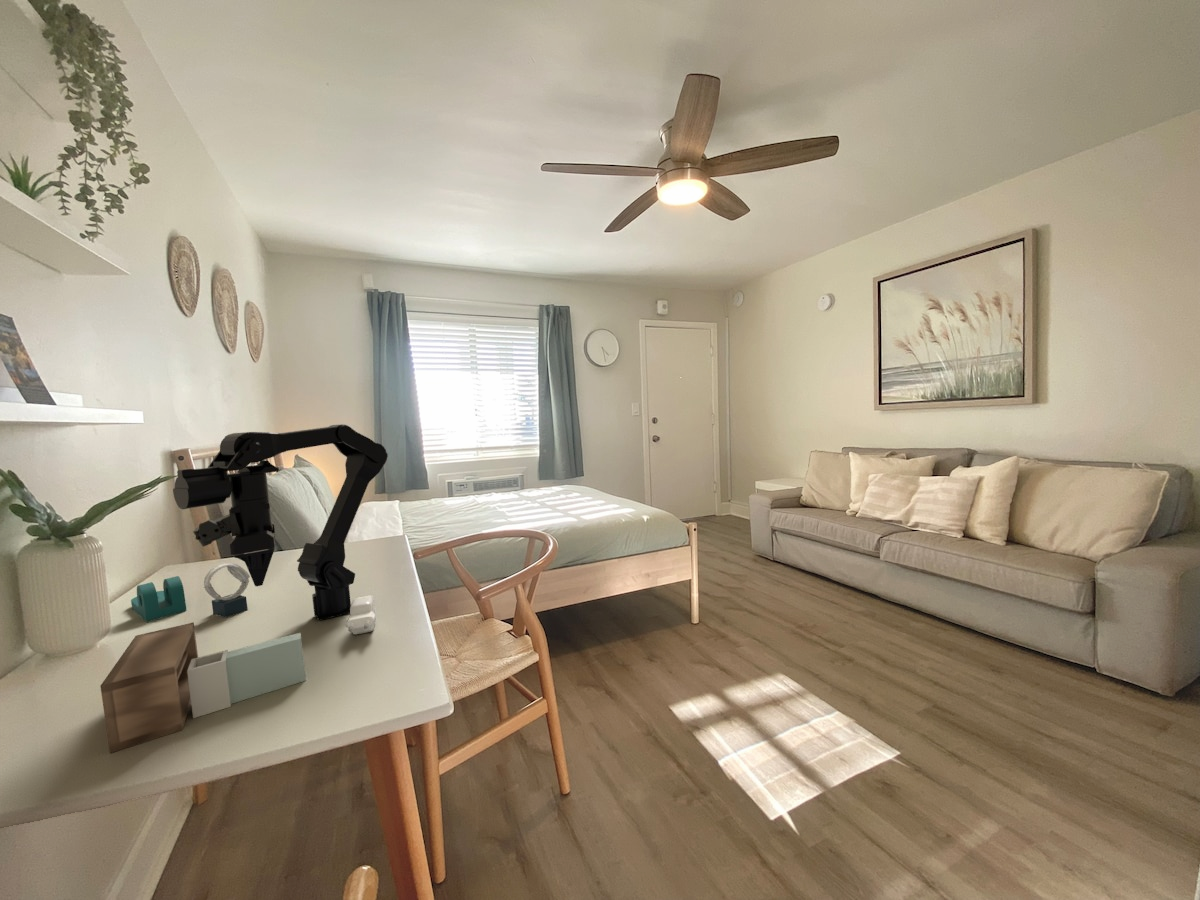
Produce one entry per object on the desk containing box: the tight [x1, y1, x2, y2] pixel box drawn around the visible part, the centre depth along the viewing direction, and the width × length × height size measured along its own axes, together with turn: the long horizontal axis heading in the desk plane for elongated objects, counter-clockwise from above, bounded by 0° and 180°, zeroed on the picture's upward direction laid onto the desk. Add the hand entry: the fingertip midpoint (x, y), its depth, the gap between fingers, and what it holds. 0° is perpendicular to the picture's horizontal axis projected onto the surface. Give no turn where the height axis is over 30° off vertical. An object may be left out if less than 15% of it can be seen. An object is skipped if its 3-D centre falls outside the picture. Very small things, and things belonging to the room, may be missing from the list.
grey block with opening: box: [187, 632, 307, 719], centre depth 71 cm, size 14×4×7 cm, turn 125°
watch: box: [203, 562, 251, 619], centre depth 106 cm, size 6×8×11 cm
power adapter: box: [345, 595, 376, 635], centre depth 90 cm, size 11×5×6 cm, turn 21°
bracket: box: [130, 575, 188, 623], centre depth 111 cm, size 18×7×8 cm, turn 54°
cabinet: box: [100, 622, 199, 754], centre depth 70 cm, size 11×18×9 cm, turn 35°
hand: (259, 579), depth 89 cm, fingers open, 9 cm apart
